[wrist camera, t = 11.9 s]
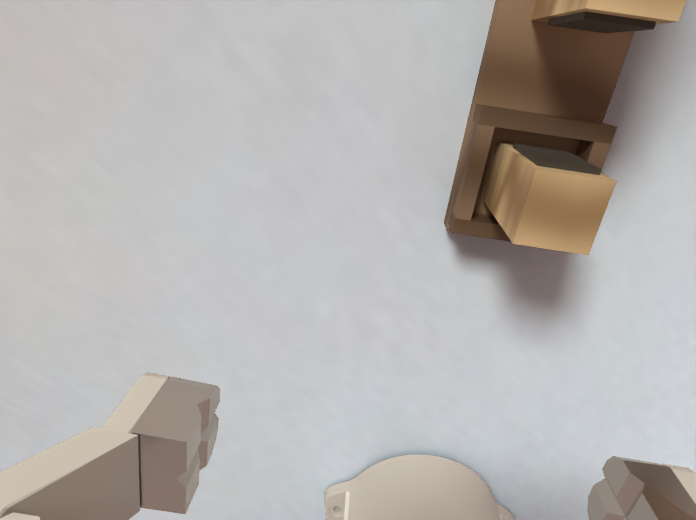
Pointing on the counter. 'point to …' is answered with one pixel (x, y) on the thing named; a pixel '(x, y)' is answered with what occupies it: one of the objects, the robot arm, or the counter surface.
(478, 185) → the wooden block holder
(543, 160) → the block
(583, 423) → the counter surface
